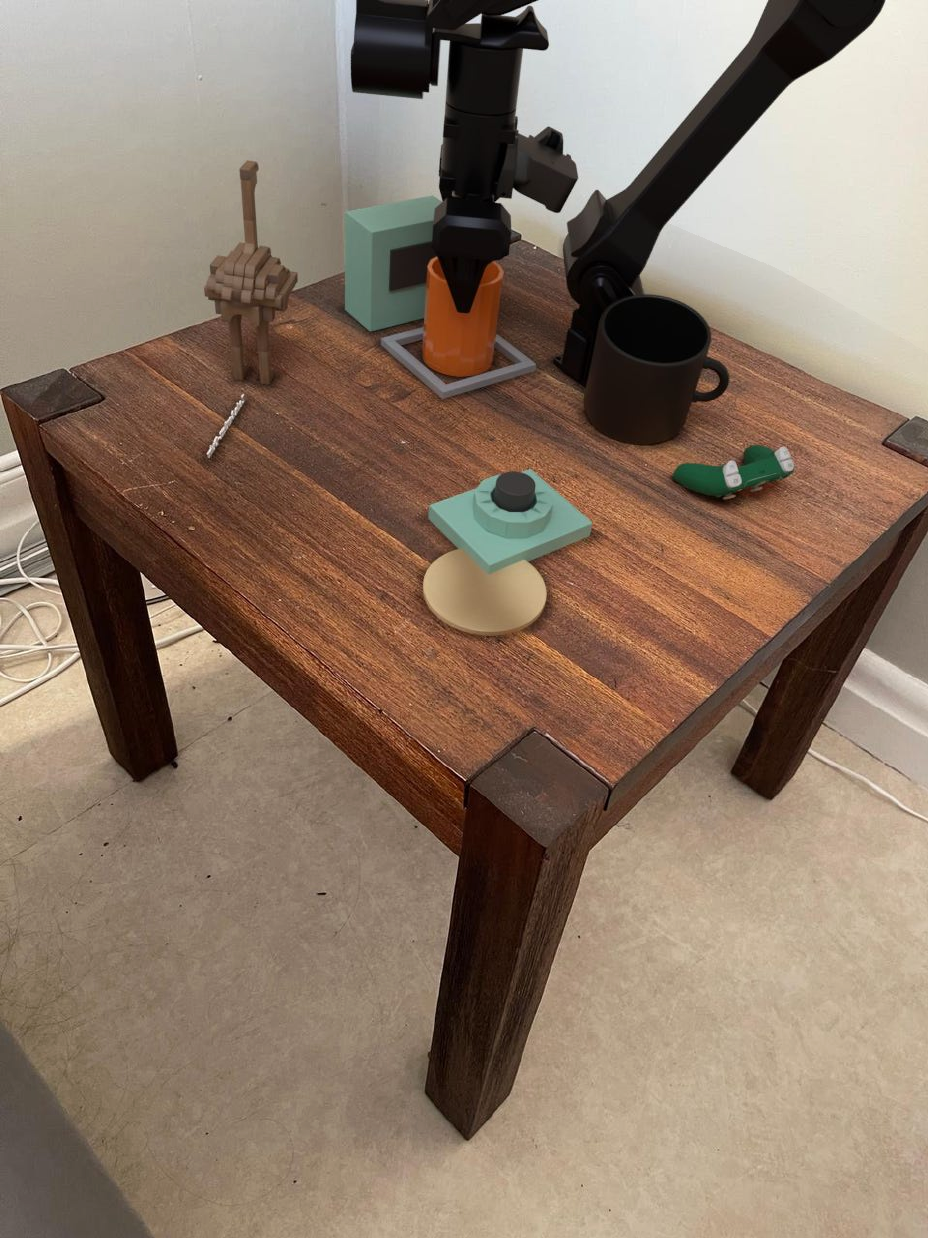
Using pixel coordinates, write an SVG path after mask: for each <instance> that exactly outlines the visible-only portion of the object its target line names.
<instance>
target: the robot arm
mask: <svg viewBox="0 0 928 1238" xmlns="http://www.w3.org/2000/svg"><path fill="white" fill-rule="evenodd" d="M538 1H539V0H355V20H354V31H353V43H352V46H351V49H350V83H351V84H350V85H351V91H352V93H355V94H366V95H375V96H377V95H378V96H387V97H398V98H406V99H417V100H423V99H424V94H425V93H427V94H428V93H430V87H438V86H439V77H440V76H439V75H440V74H439V73H440V62H441V61H440V60H441V48H442V47H441V45H442V41H446V42H447V41H448V42H449V44H448V58H447V74H446V75H447V76H446V87H445V88H446V89H445V90H446V91H445V104H444V116H443V127H442V128H443V129H442V144H441V145H440V150H439V151H440V153H439V163H438V164H439V167H438V177H439V179H438V190H439V194H440V198H441V201H442V203H440V204H439V205H438V206H437V207H436V208H435V211H434V222H433V235H432V249H433V250H434V253H435V254H436V255H437V258H438V260H439V263H440V265H441V268H442V271H443V273H444V276H445V279H446V281H447V284H448V287H449V290H450V293H451V296H452V298H453V301H454V304H455V307H456V310H457V312H459V313H469V312H470V310H471V307H472V305H473V302H474V299H475V296H476V293H477V290H478V287H479V285H480V282H481V279H482V276H483V274H484V271H485V268H486V266H487V265H488V264H490V263H492V262H493V261H495V262H496V261H502V260H503V259H504V258H505V257H509V256H510V248H511V240H512V215H511V213H510V212H509V211H508V210H507V209H506V208H505V206H504V205H503V204H502V203H501V202H497V201H499V199H510V200H511V199H512V198H513V192H514V191H516V192H517V193H519V194H520V195H523V196H525V197H526V198H529V199H531V200H533V201H535V202H537V203H539V204H541V205H543V206H544V207H545V209H546V210H547V211H550V212H552V213H555V214H560V213H561V212H562V210H563V208H564V206H565V204H566V202H567V200H569V199H568V198H569V197H570V195H571V193H572V191H573V189H574V188H575V186H576V183H577V182H578V180H579V173H578V167H577V163H576V162H575V161H574V160H573V159H572V155H570V154H569V153H566V154H564V136H563V135H564V134H563V133H562V132H561V131H559V130H557V129H555V128H552V127H551V126H549V125H548V126H547V127H545V128H544V129H543V130H542V131H540V132H539V133H537V134H536V135H535V136H533V135H531V134H529V135H528V136H526V135H523V134H521V133H519V132H520V131H519V129H518V123H519V119H518V116H516V115H517V108H518V107H517V106H518V96H519V91H520V79H521V73H522V64H523V63H522V62H523V55H524V50H531V51H542V52H545V51H548V49H549V47H550V42H549V33H548V30H547V29H546V28H545V26H544V25H543V24H542V23H541V22H540V21H539V19H538V17H537V15H536V12H535V9H534V7H533V6H532V5H531V4H533V3H535V2H538ZM885 3H886V0H767V1H766V4H765V6H764V9H763V11H762V13H761V15H760V18H759V20H758V22H757V24H756V27H755V29H754V31H753V34H752V35H751V38H750V39H749V40H748V42H747V44H745V46H744V47H743V48H742V49H741V51H740V52H739V53H738V55H737V56H736V57H735V58H734V59H733V60H732V61H731V63H730V64H729V65H728V66H727V67H726V69H725V70H724V71H723V72H722V74H721V75H720V76H719V77H718V78H717V80H716V81H714V83H713V84H712V86H711V87H710V88H709V89H708V90H707V91H706V92H705V94H704V95H703V96H702V98H701V99H700V100H699V101H698V102H697V104H696V105H695V106H694V107H693V108H692V109H691V111H690V112H689V113H688V114H687V116H686V117H685V118H684V119H683V120H682V121H681V122H680V124H679V125H678V127H676V129H675V130H674V131H673V132H672V134H671V135H670V136H669V137H668V138H667V140H666V141H665V142H664V143H663V145H661V147H660V148H659V149H658V150H657V151H656V153H655V154H654V155H653V156H652V158H651V159H649V161H648V162H647V164H646V165H645V166H643V168H642V169H641V171H639V173H638V174H637V176H636V177H635V178H634V179H633V180H632V182H631V183H630V184H629V185H628V186H627V187H626V188H625V189H623V190H622V191H619V192H618V193H616V194H614V195H612V196H611V197H609V198H606V197H605V196H604V194H603V193H601V191H600V190H599V189H595V190H594V191H593V192H592V194H591V195H590V196H589V198H588V200H587V202H586V204H585V205H584V207H583V209H582V210H581V211H580V212H579V213H578V214H577V215H576V216H574V217H573V218H572V219H570V220H568V221H567V222H566V229H567V234H566V236H565V238H564V240H563V243H562V256H563V257H562V258H563V266H564V273H565V281H566V289H567V291H568V294H569V296H570V297H571V298H572V300H573V301H574V302H575V303H576V304H577V305H578V307H577V308H574V309H573V310H572V316H571V320H570V327H568V328H567V331H566V336H565V341H564V348H563V353H560V354H557V355H555V356H553V357H552V363H553V364H554V365H555V366H557V367H558V368H559V369H561V370H562V371H563V372H565V373H566V374H567V375H568V376H570V377H571V378H572V379H574V380H575V381H577V382H578V383H579V384H580V385H582V387H584V388H586V385H587V380H588V375H589V370H590V365H591V360H592V355H593V351H594V346H595V341H596V336H597V331H598V326H599V321H600V318H601V315H602V313H603V312H604V310H605V309H606V308H607V307H608V306H609V305H610V304H612V303H613V302H615V301H616V300H619V299H621V298H624V297H627V296H632V295H640V294H645V290H644V286H643V282H642V278H641V274H642V273H643V271H644V269H645V268H646V266H647V263H648V262H649V259H650V256H651V254H652V252H653V250H654V247H655V245H656V243H657V241H658V239H659V236H660V234H661V233H662V230H663V229H664V227H665V226H666V225H667V224H668V222H669V221H670V220H671V219H672V218H673V217H674V216H675V215H676V214H677V212H679V210H680V209H681V208H682V206H684V205H685V203H686V202H687V201H688V200H689V199H690V198H691V196H692V195H694V193H695V192H696V191H697V190H698V188H699V187H700V186H701V185H702V184H703V183H704V182H705V181H706V180H707V178H708V177H709V176H710V175H711V174H712V173H713V172H714V170H715V169H716V168H718V166H719V165H720V163H721V162H723V160H725V158H726V157H727V156H728V155H729V153H730V152H731V151H732V150H733V149H734V148H735V146H736V145H737V144H738V143H739V142H740V141H741V140H742V139H743V137H745V136H746V134H747V133H748V132H749V131H750V130H751V129H752V127H754V125H755V124H756V123H757V122H758V121H759V119H760V118H761V117H762V116H763V115H764V114H765V113H766V112H767V110H768V109H770V107H771V106H772V105H773V104H774V102H775V101H776V100H777V99H778V98H779V97H780V96H781V95H782V94H783V92H784V91H785V90H786V89H787V88H788V87H789V86H790V85H791V84H793V83H794V82H795V81H796V80H798V79H800V78H802V77H803V76H805V75H806V74H808V73H810V72H812V71H814V70H815V69H817V68H819V67H821V66H823V65H824V64H826V63H827V62H829V61H831V60H832V59H834V58H835V57H836V56H837V55H838V54H839V53H840V52H842V51H843V50H844V49H845V48H846V47H848V46H849V45H850V44H851V43H852V42H853V41H855V40H856V39H857V38H858V37H859V36H861V35H862V34H863V33H864V32H865V31H866V30H868V29H869V28H870V27H871V25H872V24H873V23H874V22H875V21H876V20H877V18H878V16H879V15H880V13H881V12H882V10H883V8H884V6H885ZM523 7H525V9H524V10H522V12H520V14H518V15H516V16H511V15H510V16H509V15H506V14H510V13H512V12H514V11H517V10H519V9H522V8H523ZM480 15H481V16H480ZM479 16H480V22H479V23H478V22H477V23H476V22H474V23H473V22H472V23H469V22H470V21H472V20H474V19H475V18H477V17H479Z"/></svg>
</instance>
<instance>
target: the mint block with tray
mask: <svg viewBox="0 0 928 1238" xmlns="http://www.w3.org/2000/svg"><path fill="white" fill-rule="evenodd" d="M442 202H443V201H442V200H441V199H439V198H438V197H436V196H435V195H427V196H421V197H416V198H411V199H405V200H400V201H394V202H390V203H384V204H379V205H373V206H367V207H362V208H358V209H352V210H346V211H344V311H346V312H347V313H348V314H349V315H350V316H351V317H352V318H353V319H354V320H355V321H357V322H358V323H359V324H360V325H361V326H362V327H364V329H366V330H367V331H368V332H369V333H371V332H376V331H379V330H383V329H387V328H391V327H395V326H398V325H403V324H407V323H411V322H415V321H418V320H422V319H423V320H424V313H425V297H426V281H427V266H428V264H429V262H430V260H431V259H433V258H435V257H436V256H437V255H436V254H435V253H434V250H433V249H432V235H433V222H434V211H435V208H436V207H437V206H438V205H439V204H440V203H442ZM423 329H424V326H422V327H419V328H418V327H417V328H415V329H411V330H406V331H403V332H399V333H394V334H391V335H387V336H384V337H381V338H380V346H381V347H382V348H383V349H384V350H386V352H388V353H389V354H390V355H391V356H392V357H393V358H394V359H395V360H397V361H398V362H399V363H400V364H401V365H403V366H404V367H405V368H406V369H407V370H408V371H409V372H410V373H412V374H413V376H415V377H416V378H418V380H419V381H420V382H422V383H423V384H424V385H425V386H426V387H428V388H429V389H430V390H432V391H433V393H435V394H436V395H437V396H438V397H440V399H442V400H444V399H447V398H451V397H454V396H458V395H461V394H464V393H469V392H470V391H474V390H477V389H480V388H484V387H487V386H490V385H494V384H497V383H501V382H504V381H507V380H511V379H514V378H516V377H517V378H518V377H520V376H523V375H527V374H530V373H534V372H536V370H537V364H536V363H535V362H534V361H533V360H532V359H530V358H529V357H527V356H526V355H525V354H524V353H522V352H521V351H520V350H519V349H518V348H516V347H515V346H514V345H512V344H511V343H509V342H508V341H507V340H506V339H504V338H503V337H501V336H500V335H499V334H498V333H497V334H496V342H495V350H496V351H497V352H499V353H500V354H501V355H503V356H504V357H505V358H506V359H508V360H509V361H510V362H512V363H513V364H511V365H507V366H504V367H501V368H497V369H494V370H491V371H486V372H483V373H481V374H478V375H473V376H469V377H466V378H464V379H460V380H456V381H454V382H450V383H445V382H444V381H443V380H441V378H439V377H438V376H437V375H436V374H435V373H433V372H432V371H431V370H430V369H428V367H426V365H424V364H423V363H422V362H420V360H418V358H416V357H415V356H414V355H412V354H411V353H410V352H409V351H408V350H407V349H405V348H404V347H403V346H404V345H405V346H406V345H409V344H413V343H417V342H420V341H423Z"/></svg>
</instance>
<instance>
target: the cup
mask: <svg viewBox="0 0 928 1238" xmlns="http://www.w3.org/2000/svg"><path fill="white" fill-rule="evenodd" d="M504 276H505V272H504V269H503V268H502V265H500V264H499V263H498V262H496V261H493V262H492V263H490V264H488V265H487V266H486V268H485V271H484V274H483V276H482V279H481V282H480V285H479V287H478V290H477V293H476V296H475V299H474V302H473V305H472V307H471V310H470V312H469V313H459V312H457V310H456V307H455V304H454V301H453V298H452V296H451V293H450V290H449V287H448V284H447V281H446V279H445V276H444V273H443V271H442V268H441V265H440V263H439V260H438V258H437V256H436V257H435V258H433V259H431V260H430V262H429V264H428V266H427V281H426V297H425V313H424V318H423V327H424V329H423V340H422V344H421V345H422V346H421V347H422V348H421V351H422V360H423V362H424V363H425V366H427V367H428V368H430V369H431V370H433V371H435V372H437V373H439V374H442V375H445V376H450V377H455V378H456V377H457V378H462V377H473V376H477V375H480V374H483V373H486V372H488V370H489V369H490V368H491V367H492V366H493V363H494V362H493V361H494V356H495V350H496V349H495V342H496V334H498V333H497V332H498V324H499V317H500V310H501V309H500V308H501V299H502V292H503V283H504Z"/></svg>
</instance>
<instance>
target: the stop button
mask: <svg viewBox="0 0 928 1238" xmlns="http://www.w3.org/2000/svg"><path fill="white" fill-rule="evenodd" d="M522 472H523V471H516V470H514V471H513V470H511V471H505V472H503V473H500V474H501V475H500V474H499V476H498V478H497V480H496V486H495V493H494V502H495V504H496V505H497V506H498V507H499V508H500V509H502V510H505V511H508V512H525V511H527V510H529V509H530V508H531V506H532V504H533V499H534V493H535V487H536V484H535V481H534V480H533V479H532V478H531V477H530V476H529V475H527V474H525V473H522Z"/></svg>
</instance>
